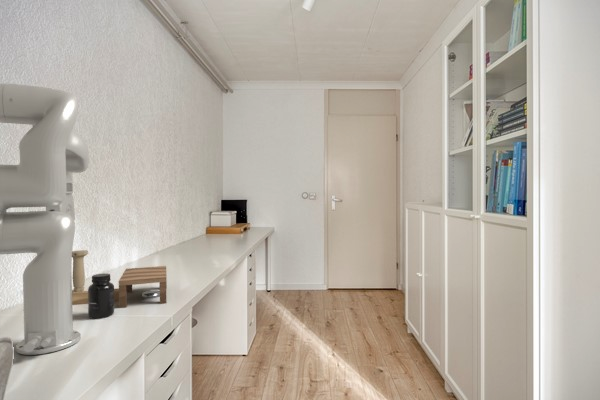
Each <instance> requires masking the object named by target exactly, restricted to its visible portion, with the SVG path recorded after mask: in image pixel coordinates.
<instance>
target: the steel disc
mask: <svg viewBox="0 0 600 400" xmlns="http://www.w3.org/2000/svg"><path fill="white" fill-rule="evenodd" d="M141 298H142V299H144V300H152V299H157V298H160V290H148V291H145V292H142V293H141Z"/></svg>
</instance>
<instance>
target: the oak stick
mask: <svg viewBox="0 0 600 400" xmlns="http://www.w3.org/2000/svg"><path fill="white" fill-rule="evenodd" d="M114 302H119V287H118V288H114ZM78 305H88V290H83V291H80V292H74V291H72V306H78Z"/></svg>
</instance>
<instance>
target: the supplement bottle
mask: <svg viewBox="0 0 600 400" xmlns="http://www.w3.org/2000/svg"><path fill="white" fill-rule="evenodd" d="M114 289H115V286H114V283H112V282H111V274H110V273H95V274H93V275H91V284H90V285H89V286H88V288H87V291H88V304H87V314H88V315H87V316H88V317H89V318H90V319H105V318H109V317H111V316H113V315H114V313H115V301H114Z"/></svg>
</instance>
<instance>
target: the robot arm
mask: <svg viewBox="0 0 600 400" xmlns="http://www.w3.org/2000/svg"><path fill="white" fill-rule="evenodd" d="M78 113H79V101H78V99H77V98H76V96H75V95H74V94H72V93H70V92H67V91H65V90H59V89H54V88H50V87H44V86H36V85H35V86H34V85H25V84H17V83H0V123H2V124H3V123H4V124H18V125H28V126H29V125H30V126H32V127H31V128H30V129H28V131H27V132H26V133H25V134H24V136H23V137H21V139H20V141H19V143H18V144H19V145H18V148H19V164H0V255H12V254H13V255H16V254H26V253H27V254H28V253H29V254H32V253H33V254H36V256H35V257H34V258H33V259H32V260H31V261H30V262H29V263H28V264H27V265H26V267H25V268H24V271H23V274H22V288H23V291H22V294H23V338H24V339H22V340H20V341H19V342H18V343H17V344H16V345H15V352H16V353H18V354H20V355H26V356H33V355H35V356H36V355H42V354H49V353H53V352H56V351H57V352H58V351H61V350H63V349H64V350H65V349H67V348H69V347H71V346H73V345H75V344H77V343H78V342H79V341H80V340H81V333H80V332H79V331H77V330H74V329H73V328H74V327H73V326H74V323H73V322H74V321H73V320H74V319H73V305H72V292H73V258H72V251H73V246H74V240H75V232H76V222H75V220H76V216H75V215H76V214H75V203H74V196H73V190H74V189H73V174H74V173H75V174H76V173H78V174H80V173H84V172H86V171H87V169H88V168H89V162H90V161H89V147H88V144H87V143H86V141H85V139H84V138H83V137H82V135H80V134H79V133H78V132H76V131H75V130H73V129H74V127H75V124H76V122H77V117H78ZM44 207H45V210H37V211H36V210H32V211H31V210H30V211H7V210H8V209H11V208H44Z"/></svg>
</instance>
